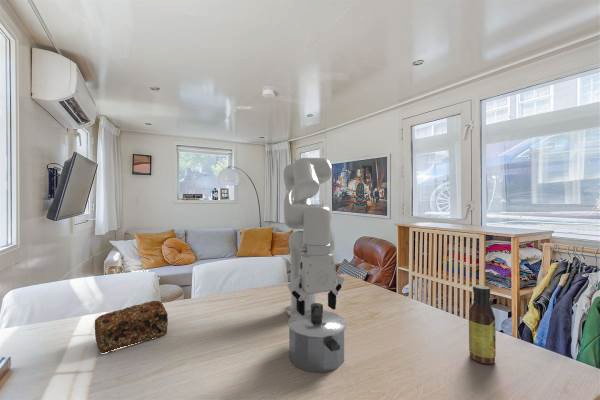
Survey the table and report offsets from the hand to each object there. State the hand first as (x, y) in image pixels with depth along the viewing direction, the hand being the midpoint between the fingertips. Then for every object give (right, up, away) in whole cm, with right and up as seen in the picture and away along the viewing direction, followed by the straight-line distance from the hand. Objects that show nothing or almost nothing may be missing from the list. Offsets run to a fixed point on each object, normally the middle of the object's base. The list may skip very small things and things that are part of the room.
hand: (316, 310), depth 80 cm
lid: (0, -4, 0) cm, 4 cm away
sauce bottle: (+46, -13, -1) cm, 47 cm away
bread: (-57, -13, +10) cm, 60 cm away
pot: (0, -13, 0) cm, 13 cm away
